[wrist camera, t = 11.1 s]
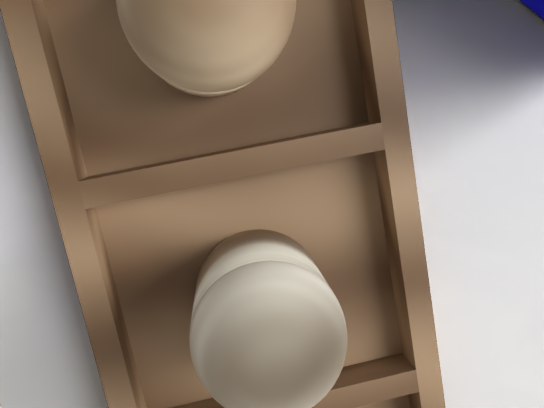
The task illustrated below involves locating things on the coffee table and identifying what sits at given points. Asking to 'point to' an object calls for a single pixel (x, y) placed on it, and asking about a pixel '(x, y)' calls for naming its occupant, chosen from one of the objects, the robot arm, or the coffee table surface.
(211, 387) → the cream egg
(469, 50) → the coffee table surface
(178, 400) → the wooden compartment tray
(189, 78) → the tan egg
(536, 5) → the puzzle cube
